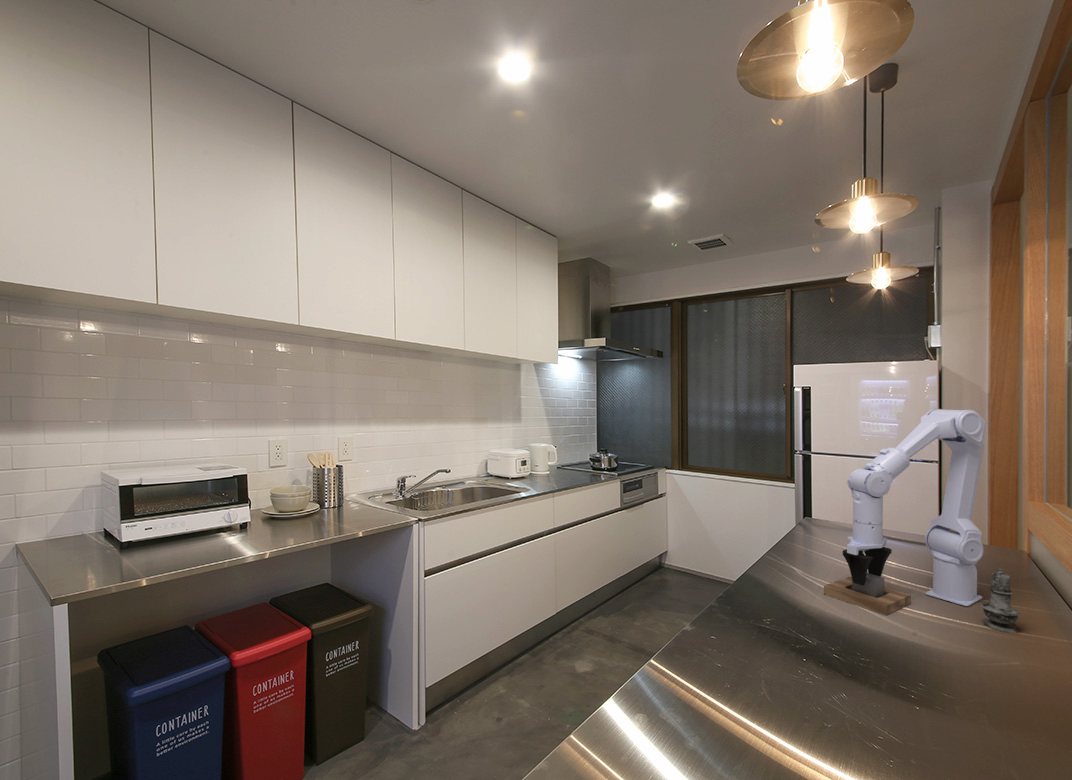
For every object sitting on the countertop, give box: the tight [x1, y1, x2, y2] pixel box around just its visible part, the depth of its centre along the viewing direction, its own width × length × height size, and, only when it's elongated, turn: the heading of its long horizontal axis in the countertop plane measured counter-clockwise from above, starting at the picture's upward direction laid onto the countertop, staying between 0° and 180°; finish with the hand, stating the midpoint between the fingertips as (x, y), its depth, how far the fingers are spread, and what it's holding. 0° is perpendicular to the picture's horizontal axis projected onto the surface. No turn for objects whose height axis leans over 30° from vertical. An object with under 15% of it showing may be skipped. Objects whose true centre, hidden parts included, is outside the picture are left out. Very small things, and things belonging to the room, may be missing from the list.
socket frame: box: [823, 576, 912, 616], centre depth 115 cm, size 12×13×2 cm
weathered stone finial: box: [980, 567, 1021, 634], centre depth 102 cm, size 6×6×12 cm
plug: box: [852, 572, 885, 598], centre depth 115 cm, size 4×5×6 cm
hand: (866, 580), depth 115 cm, fingers open, 7 cm apart
